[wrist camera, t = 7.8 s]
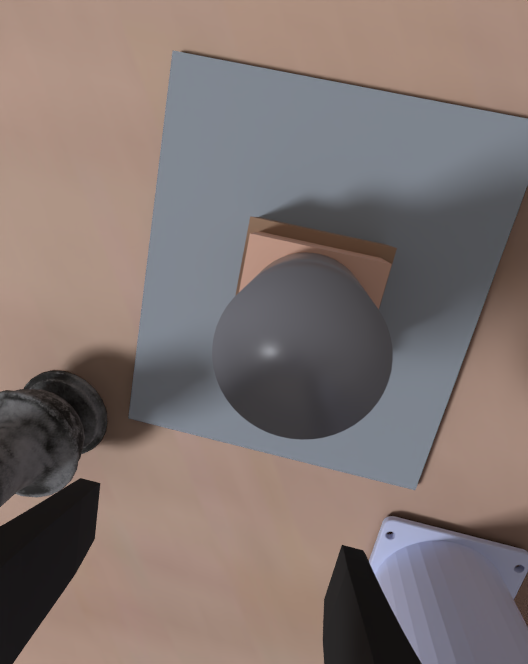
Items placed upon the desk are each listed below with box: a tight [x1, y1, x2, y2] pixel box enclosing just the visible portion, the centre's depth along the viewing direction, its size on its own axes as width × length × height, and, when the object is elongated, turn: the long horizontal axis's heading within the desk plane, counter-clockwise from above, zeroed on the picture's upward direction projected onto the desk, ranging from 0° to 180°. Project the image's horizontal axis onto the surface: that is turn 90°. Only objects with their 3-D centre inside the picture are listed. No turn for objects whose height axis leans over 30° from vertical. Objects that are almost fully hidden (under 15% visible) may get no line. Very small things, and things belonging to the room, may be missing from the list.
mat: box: [128, 51, 528, 490], centre depth 20 cm, size 18×16×1 cm
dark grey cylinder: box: [212, 252, 393, 440], centre depth 12 cm, size 4×4×5 cm
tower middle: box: [239, 232, 392, 310], centre depth 16 cm, size 5×5×2 cm
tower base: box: [235, 217, 397, 308], centre depth 18 cm, size 6×6×2 cm
